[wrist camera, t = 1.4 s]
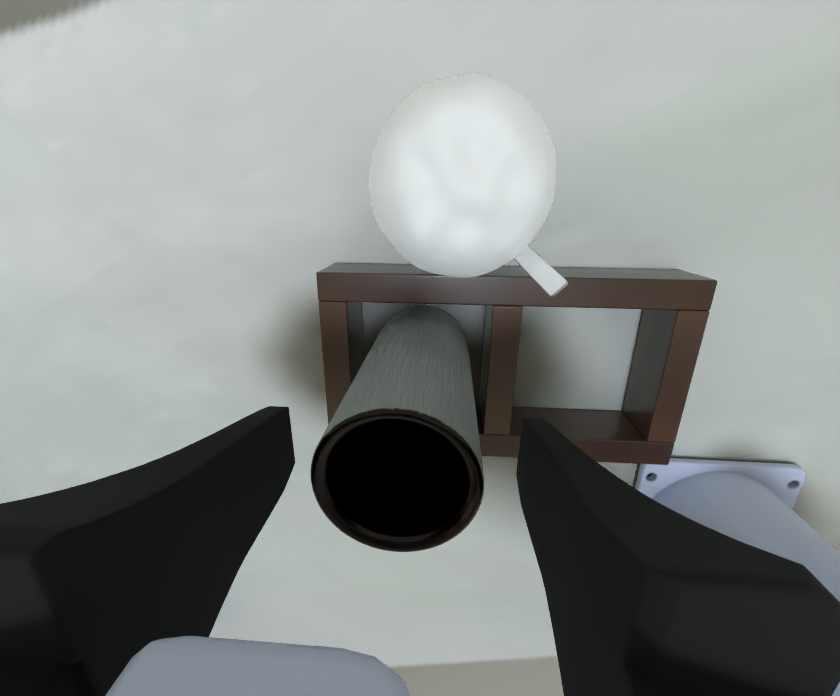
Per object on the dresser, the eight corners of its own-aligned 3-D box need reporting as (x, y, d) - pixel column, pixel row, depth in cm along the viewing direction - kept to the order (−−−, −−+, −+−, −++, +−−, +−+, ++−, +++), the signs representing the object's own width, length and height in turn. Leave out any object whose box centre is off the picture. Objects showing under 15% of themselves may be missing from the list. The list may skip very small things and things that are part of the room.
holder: (641, 432, 20) (669, 465, 18) (344, 419, 22) (330, 448, 19) (678, 269, 18) (718, 280, 15) (334, 262, 19) (315, 272, 16)
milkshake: (465, 280, 18) (479, 358, 9) (383, 191, 17) (304, 176, 8) (543, 208, 17) (654, 214, 8) (460, 108, 16) (474, -27, 7)
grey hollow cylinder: (400, 401, 21) (356, 571, 11) (362, 325, 20) (277, 443, 10) (481, 372, 20) (509, 529, 10) (447, 290, 19) (443, 383, 9)
